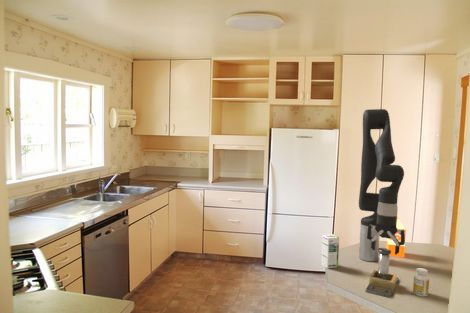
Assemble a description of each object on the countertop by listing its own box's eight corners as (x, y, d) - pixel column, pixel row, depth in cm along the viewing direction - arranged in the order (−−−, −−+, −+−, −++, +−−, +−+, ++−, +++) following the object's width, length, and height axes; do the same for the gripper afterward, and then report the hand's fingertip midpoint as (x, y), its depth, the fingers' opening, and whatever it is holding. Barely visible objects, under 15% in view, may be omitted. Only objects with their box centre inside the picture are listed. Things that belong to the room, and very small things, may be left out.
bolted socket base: (376, 274, 160) (376, 265, 160) (398, 279, 155) (398, 270, 155) (365, 291, 143) (366, 281, 142) (390, 297, 138) (390, 287, 137)
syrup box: (327, 268, 165) (328, 237, 164) (320, 264, 171) (322, 234, 170) (338, 267, 167) (339, 237, 166) (331, 263, 173) (332, 233, 172)
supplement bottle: (423, 290, 145) (424, 267, 144) (431, 296, 140) (432, 272, 139) (410, 290, 145) (411, 267, 144) (417, 296, 139) (419, 272, 139)
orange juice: (387, 255, 186) (390, 217, 184) (386, 250, 194) (388, 214, 193) (404, 257, 184) (406, 219, 182) (401, 252, 192) (404, 215, 190)
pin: (377, 281, 152) (379, 247, 151) (389, 284, 150) (392, 249, 149) (374, 285, 148) (377, 250, 147) (387, 289, 146) (390, 252, 145)
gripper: (407, 214, 146) (404, 253, 147) (370, 209, 154) (368, 246, 155) (405, 217, 140) (402, 258, 141) (367, 212, 147) (364, 251, 149)
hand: (384, 252), depth 148 cm, fingers open, 8 cm apart
